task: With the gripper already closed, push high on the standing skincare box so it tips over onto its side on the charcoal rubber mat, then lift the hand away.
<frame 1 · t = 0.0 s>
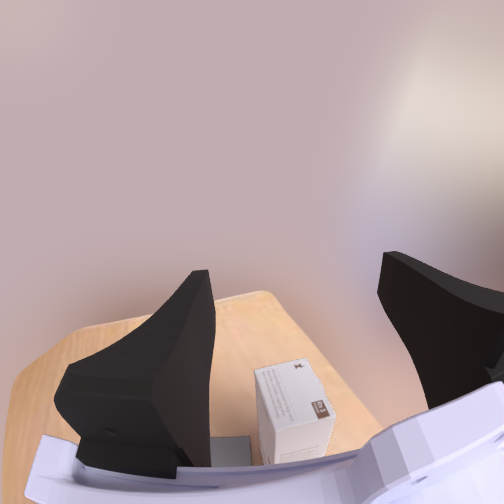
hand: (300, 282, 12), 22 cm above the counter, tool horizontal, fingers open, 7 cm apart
skincare box: (288, 466, 23), on the counter
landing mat: (207, 474, 22), on the counter
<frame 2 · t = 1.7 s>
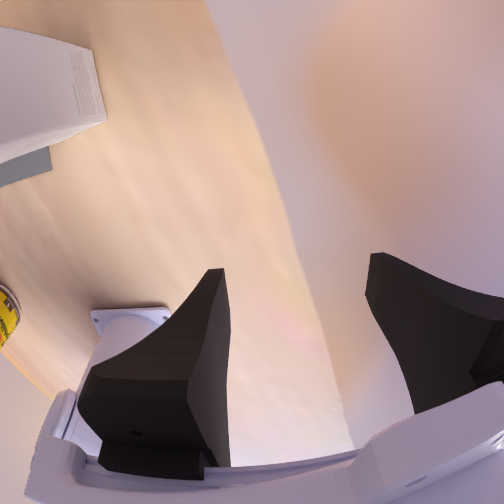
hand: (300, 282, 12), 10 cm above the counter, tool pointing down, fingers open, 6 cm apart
skincare box: (80, 96, 16), on the counter
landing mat: (8, 130, 16), on the counter
supplement bottle: (6, 300, 24), on the counter
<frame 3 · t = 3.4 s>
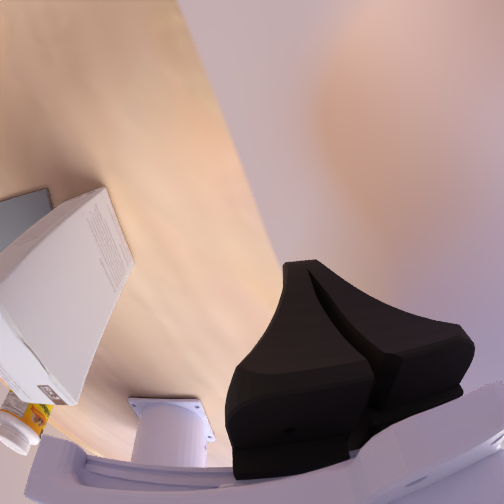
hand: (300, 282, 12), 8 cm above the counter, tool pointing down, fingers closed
skincare box: (100, 232, 19), on the counter
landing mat: (26, 251, 19), on the counter
supplement bottle: (40, 379, 26), on the counter
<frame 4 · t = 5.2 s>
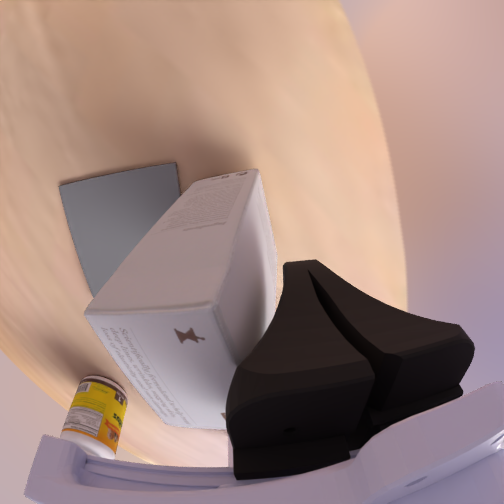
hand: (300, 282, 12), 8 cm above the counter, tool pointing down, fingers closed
skincare box: (240, 219, 18), on the counter, touching gripper
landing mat: (126, 238, 19), on the counter
supplement bottle: (105, 388, 26), on the counter
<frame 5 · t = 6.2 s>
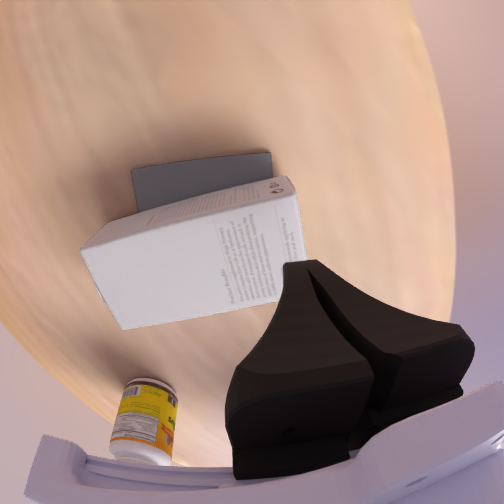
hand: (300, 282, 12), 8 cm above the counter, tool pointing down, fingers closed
skincare box: (305, 234, 16), point 3 cm above the counter, touching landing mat
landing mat: (208, 228, 19), on the counter
supplement bottle: (152, 390, 26), on the counter
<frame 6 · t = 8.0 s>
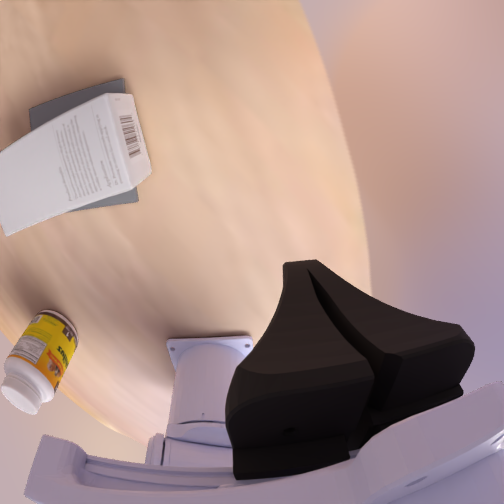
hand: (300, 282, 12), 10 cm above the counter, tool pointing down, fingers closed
skincare box: (135, 137, 16), point 3 cm above the counter, touching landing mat
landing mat: (78, 150, 18), on the counter
supplement bottle: (58, 326, 26), on the counter
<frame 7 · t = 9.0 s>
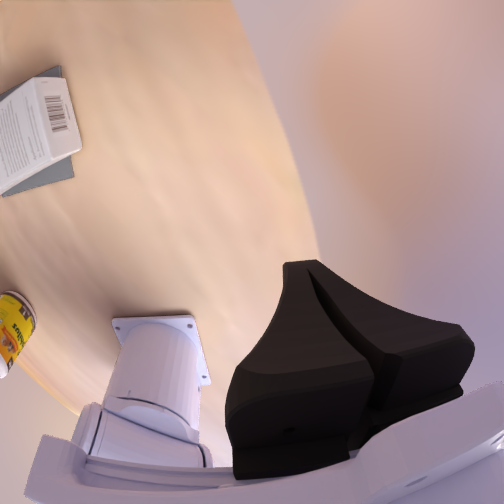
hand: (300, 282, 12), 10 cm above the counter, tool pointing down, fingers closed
skincare box: (61, 114, 14), point 3 cm above the counter, touching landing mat
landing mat: (25, 135, 17), on the counter
supplement bottle: (20, 308, 24), on the counter
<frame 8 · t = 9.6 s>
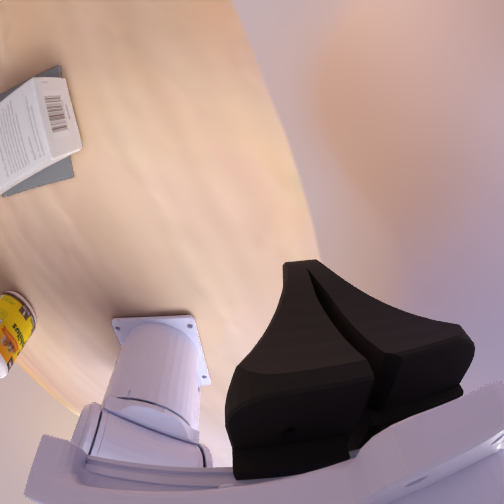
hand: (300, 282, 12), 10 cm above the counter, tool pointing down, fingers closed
skincare box: (61, 114, 14), point 3 cm above the counter, touching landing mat
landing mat: (25, 135, 17), on the counter
supplement bottle: (20, 308, 24), on the counter
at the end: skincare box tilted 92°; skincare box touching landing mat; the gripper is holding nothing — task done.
